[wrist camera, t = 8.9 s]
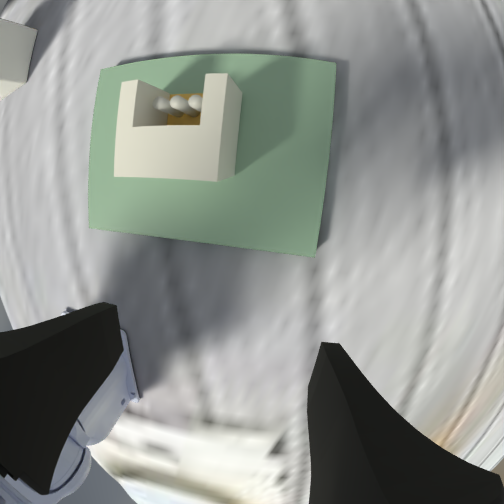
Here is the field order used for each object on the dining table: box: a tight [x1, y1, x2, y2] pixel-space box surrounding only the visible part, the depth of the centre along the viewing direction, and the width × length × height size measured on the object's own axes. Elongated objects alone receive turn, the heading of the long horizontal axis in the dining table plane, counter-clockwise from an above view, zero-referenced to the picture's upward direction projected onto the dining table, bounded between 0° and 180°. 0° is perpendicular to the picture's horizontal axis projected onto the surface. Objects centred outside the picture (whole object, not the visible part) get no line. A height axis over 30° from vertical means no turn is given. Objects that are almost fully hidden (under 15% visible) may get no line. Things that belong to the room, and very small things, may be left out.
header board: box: [88, 54, 336, 258], centre depth 14 cm, size 12×16×4 cm
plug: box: [114, 73, 242, 182], centre depth 13 cm, size 5×6×4 cm
